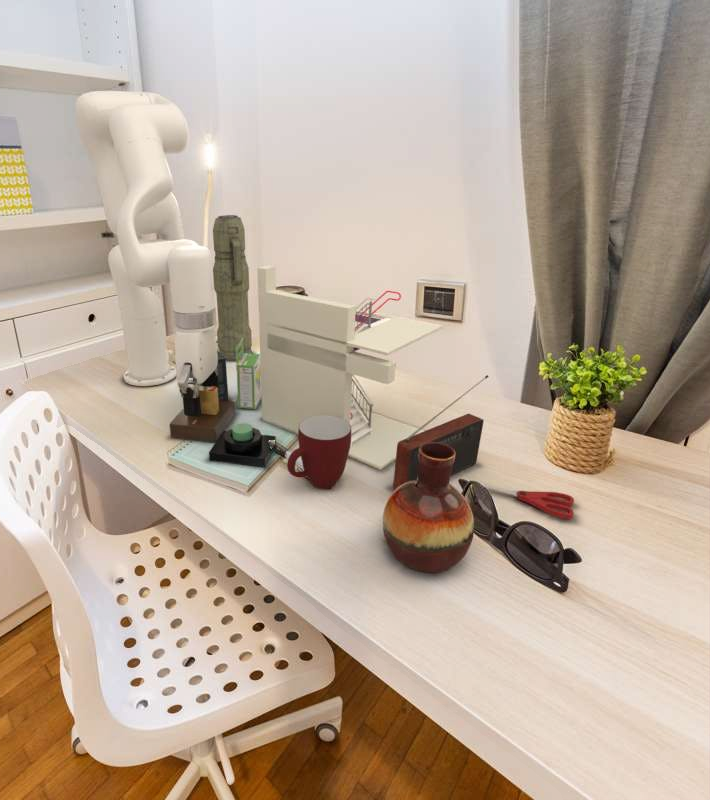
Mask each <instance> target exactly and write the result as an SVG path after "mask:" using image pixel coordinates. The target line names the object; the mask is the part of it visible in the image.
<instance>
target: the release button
mask: <svg viewBox="0 0 710 800" xmlns="http://www.w3.org/2000/svg"><path fill="white" fill-rule="evenodd" d="M231 429H232V436H233V439H234V440H236V441H247V440H250V439H252V438H253V425H251V424H249V423H237V424H235V425H233V426H232V428H231Z"/></svg>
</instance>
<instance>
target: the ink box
mask: <svg viewBox="0 0 710 800" xmlns="http://www.w3.org/2000/svg"><path fill="white" fill-rule="evenodd" d="M241 346H242V349H241V351H240V352H239V354H238V351H239V348H240V347H241ZM235 362H236V365H235V367H236V368H235V369H236V386H237V388H236V389H237V408H238V409H247V410H256V409H257V407H258V405H259V403H260V401H261V400H262V392H261V362H260V353H252V354H247V353H244V349H243V338H242V340H241V341H240V343H239V344H238V346H237V347H236V361H235Z"/></svg>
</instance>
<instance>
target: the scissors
mask: <svg viewBox="0 0 710 800" xmlns="http://www.w3.org/2000/svg"><path fill="white" fill-rule="evenodd" d="M481 485H482V486H483V487H482V488H486V489H488V490H489V489H490V490H493V491H495V492H496V491H497V492H499V493H505V494H508V495H511V496H514V497H516V498H517V499H518V500H520V501H522V502H525V503H527V504H529V505H531V506H534V507H535V508H536V509H539V510H541V511H544V512H545V513H547V514H550V515H552V516H554V517H558V518H562V519H566V520H570V519H572V518H573V517H574V510H573V509H572V508H571V507H572V506H573V505H574V501H575V499H574V497H573V496H571V495H569V494H568V493H567V494H566V493H563V492H556V491H527V490H518V491H512V490H509V489H508V490H507V489H503V488H498V487H494V486H489V485H485V484H481Z"/></svg>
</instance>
